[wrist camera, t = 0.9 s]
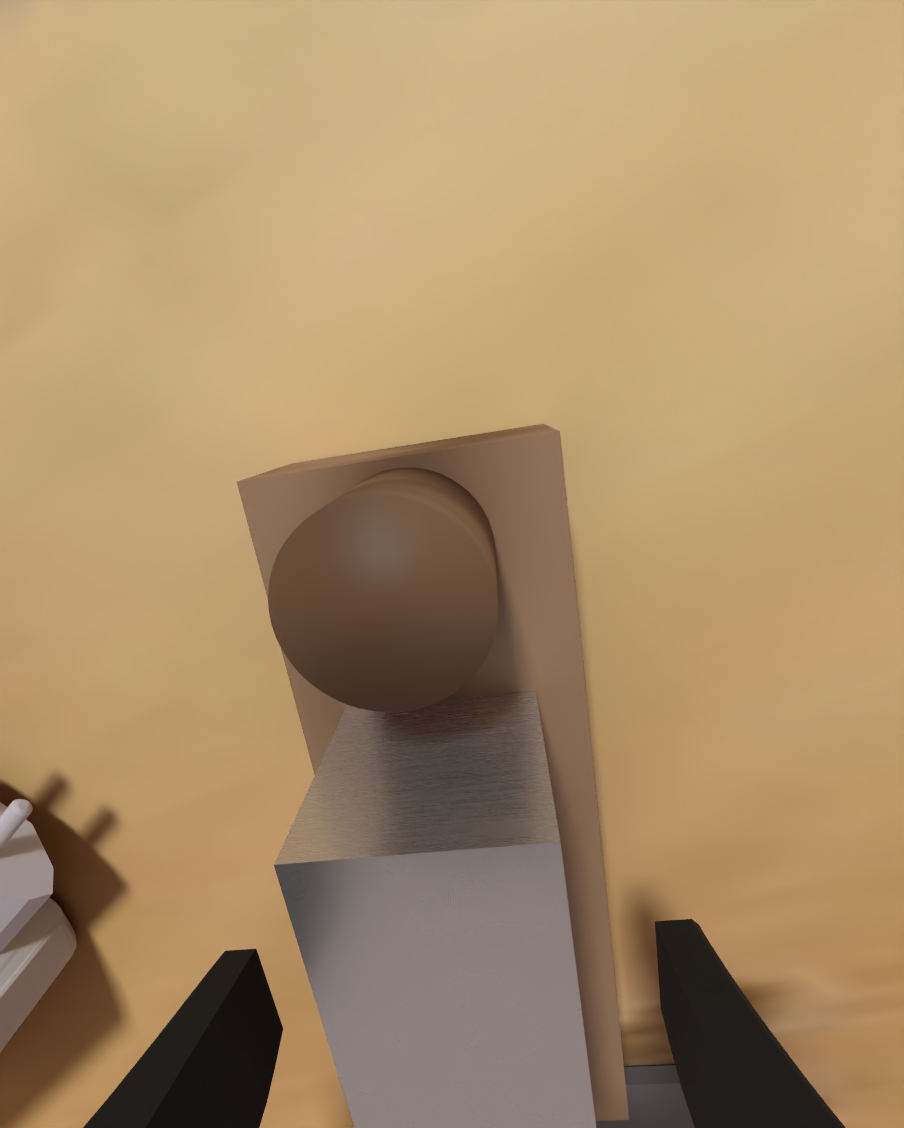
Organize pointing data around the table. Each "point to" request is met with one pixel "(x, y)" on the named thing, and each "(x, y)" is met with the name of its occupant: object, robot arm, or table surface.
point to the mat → (653, 1099)
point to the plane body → (448, 630)
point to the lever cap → (441, 919)
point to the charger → (27, 920)
